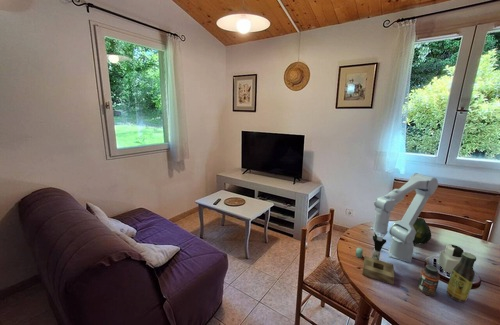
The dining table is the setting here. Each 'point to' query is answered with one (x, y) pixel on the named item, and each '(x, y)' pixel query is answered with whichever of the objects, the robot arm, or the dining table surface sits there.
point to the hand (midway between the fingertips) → (377, 246)
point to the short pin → (359, 252)
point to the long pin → (376, 254)
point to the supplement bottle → (429, 280)
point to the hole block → (378, 270)
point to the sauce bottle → (462, 278)
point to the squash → (421, 231)
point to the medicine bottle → (450, 257)
